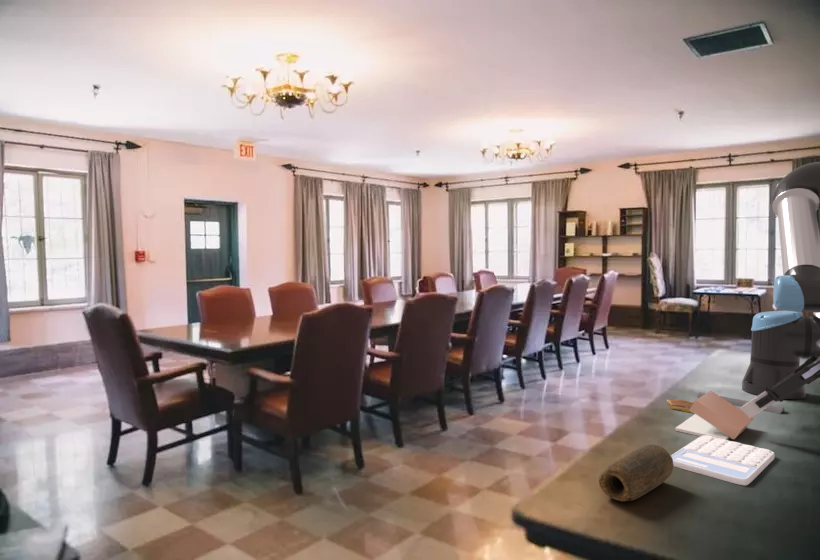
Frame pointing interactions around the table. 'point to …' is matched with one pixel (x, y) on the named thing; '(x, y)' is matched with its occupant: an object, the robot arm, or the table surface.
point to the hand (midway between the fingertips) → (745, 412)
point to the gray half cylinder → (742, 402)
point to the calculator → (723, 459)
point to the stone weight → (636, 473)
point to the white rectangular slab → (700, 428)
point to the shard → (680, 405)
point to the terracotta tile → (721, 414)
